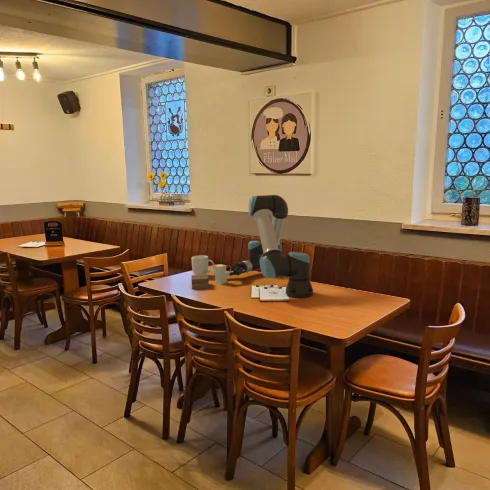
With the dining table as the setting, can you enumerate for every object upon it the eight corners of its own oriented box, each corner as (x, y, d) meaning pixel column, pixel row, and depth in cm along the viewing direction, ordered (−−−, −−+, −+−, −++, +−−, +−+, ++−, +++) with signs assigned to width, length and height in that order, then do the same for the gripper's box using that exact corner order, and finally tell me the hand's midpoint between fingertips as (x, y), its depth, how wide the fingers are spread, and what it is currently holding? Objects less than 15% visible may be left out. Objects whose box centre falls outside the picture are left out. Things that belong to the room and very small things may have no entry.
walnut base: (208, 288, 258) (208, 278, 257) (192, 289, 257) (191, 279, 256) (208, 283, 268) (207, 274, 267) (191, 284, 267) (191, 275, 266)
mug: (213, 273, 295) (212, 254, 293) (216, 276, 284) (215, 257, 282) (191, 275, 292) (190, 256, 290) (193, 278, 281) (192, 259, 279)
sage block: (226, 282, 268) (226, 265, 267) (220, 284, 265) (219, 266, 263) (221, 281, 272) (220, 264, 270) (215, 283, 269) (214, 265, 267)
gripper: (257, 275, 272) (231, 282, 258) (231, 270, 290) (206, 276, 276) (256, 264, 270) (230, 270, 256) (231, 259, 289) (205, 264, 275)
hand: (217, 273), depth 266 cm, fingers open, 13 cm apart
